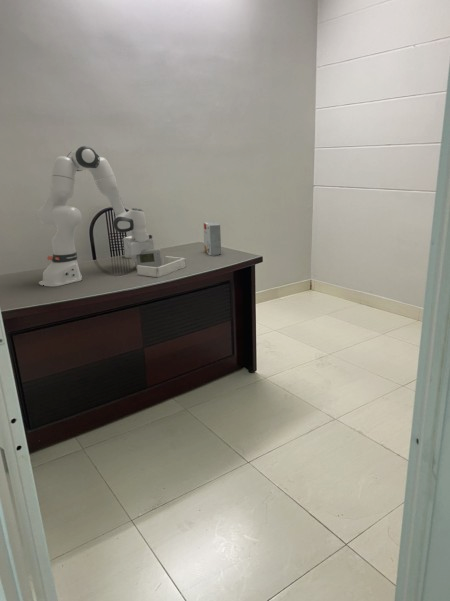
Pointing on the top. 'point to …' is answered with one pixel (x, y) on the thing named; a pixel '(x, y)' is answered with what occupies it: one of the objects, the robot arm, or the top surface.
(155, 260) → the digital clock
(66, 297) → the top surface
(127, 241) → the small box
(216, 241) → the hard drive box
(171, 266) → the bin
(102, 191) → the robot arm
